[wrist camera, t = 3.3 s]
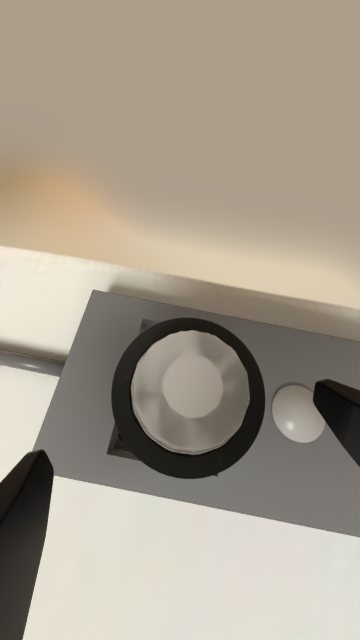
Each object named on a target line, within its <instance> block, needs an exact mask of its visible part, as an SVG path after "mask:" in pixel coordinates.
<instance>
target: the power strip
mask: <svg viewBox="0 0 360 640" xmlns="http://www.w3.org/2000/svg"><path fill="white" fill-rule="evenodd" d="M175 318H198V319H204V320H207V321H211V322H213V323H216V324H218V325H220V326H222V327H224V328H226V329H227V330H229V331H230V332H232V333H233V334H234V335H236V336H237V337H238V338H239V339H240V340H241V341H242V342H243V343H244V344H245V345H246V347H247V348H248V349H249V351H250V352H251V353H252V355H253V357H254V358H255V360H256V362H257V364H258V366H259V369H260V372H261V374H262V378H263V382H264V388H265V412H264V418H263V422H262V425H261V428H260V431H259V433H258V435H257V437H256V439H255V441H254V443H253V444H252V446H251V447H250V449H249V450H248V451H247V452H246V454H245V455H244V456H243V457H242V458H241V459H240V460H239V461H238V462H236V463H235V464H234V465H232V466H231V467H230V468H228V469H226V470H224V471H223V472H220V473H218V474H216V475H213V476H209V477H206V478H199V479H180V478H174V477H170V476H167V475H164V474H161V473H159V472H157V471H155V470H153V469H151V468H150V467H148V466H147V465H145V464H144V463H143V462H141V461H140V460H139V459H138V458H137V457H136V456H135V455H134V454H133V453H132V452H130V451H125V450H120V449H116V448H115V446H116V442H117V438H118V434H119V431H118V429H117V426H116V423H115V420H114V417H113V411H112V403H111V389H112V382H113V377H114V373H115V370H116V368H117V365H118V363H119V361H120V358H121V357H122V355H123V353H124V352H125V350H126V349H127V347H128V346H129V345H130V344H131V343H132V342H133V340H134V339H135V338H136V337H138V336H139V335H140V334H141V333H142V332H144V331H145V330H147V329H148V328H150V327H152V326H153V325H156V324H158V323H160V322H163V321H166V320H170V319H175ZM0 365H3V366H8V367H13V368H18V369H23V370H28V371H33V372H38V373H43V374H48V375H53V376H58V377H60V379H59V381H58V384H57V387H56V389H55V392H54V395H53V397H52V400H51V403H50V405H49V408H48V411H47V413H46V416H45V419H44V421H43V424H42V427H41V429H40V432H39V435H38V437H37V440H36V443H35V445H34V448H33V451H36V450H40V449H43V450H45V452H46V453H47V455H48V457H49V459H50V461H51V463H52V465H53V469H54V475H55V476H60V477H65V478H69V479H74V480H79V481H84V482H89V483H94V484H99V485H104V486H109V487H114V488H119V489H124V490H129V491H134V492H139V493H144V494H148V495H153V496H158V497H163V498H168V499H173V500H178V501H183V502H188V503H193V504H198V505H203V506H208V507H213V508H218V509H223V510H227V511H232V512H237V513H242V514H247V515H252V516H257V517H262V518H267V519H272V520H277V521H282V522H287V523H292V524H297V525H302V526H306V527H311V528H316V529H321V530H326V531H331V532H336V533H341V534H346V535H351V536H356V537H360V467H359V466H358V465H357V464H356V462H355V461H354V460H353V459H352V458H351V456H350V455H349V454H348V453H347V451H346V450H345V449H344V447H343V446H342V445H341V443H340V442H339V441H338V439H337V438H336V436H335V435H334V433H333V432H332V430H331V429H330V428H329V426H328V425H327V423H326V422H325V420H324V419H323V417H322V416H321V414H320V413H319V411H318V410H317V409H316V407H315V405H314V403H313V393H314V387H315V383H316V382H317V381H319V380H323V379H330V380H333V381H336V382H339V383H341V384H344V385H347V386H349V387H352V388H355V389H358V390H360V342H358V341H353V340H348V339H343V338H338V337H333V336H328V335H323V334H317V333H312V332H307V331H302V330H297V329H292V328H287V327H282V326H277V325H271V324H266V323H261V322H256V321H251V320H246V319H241V318H236V317H231V316H226V315H220V314H215V313H210V312H205V311H200V310H195V309H190V308H185V307H180V306H174V305H169V304H164V303H159V302H154V301H149V300H144V299H139V298H134V297H129V296H123V295H118V294H113V293H108V292H103V291H98V290H93V291H92V293H91V296H90V299H89V301H88V304H87V307H86V309H85V312H84V315H83V317H82V320H81V323H80V325H79V328H78V331H77V333H76V336H75V339H74V341H73V344H72V347H71V349H70V352H69V355H68V357H67V360H66V363H65V362H60V361H55V360H50V359H45V358H40V357H35V356H30V355H25V354H20V353H15V352H10V351H5V350H0Z"/></svg>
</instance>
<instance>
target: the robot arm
mask: <svg viewBox="0 0 360 640" xmlns="http://www.w3.org/2000/svg"><path fill="white" fill-rule="evenodd" d="M313 403H314V405H315V407H316V409H317V410H318V411H319V413H320V414H321V416H322V417H323V419H324V420H325V422H326V423H327V425H328V426H329V428H330V429H331V430H332V432H333V433H334V435H335V436H336V438H337V439H338V441H339V442H340V443H341V445H342V446H343V447H344V449H345V450H346V451H347V453H348V454H349V455H350V456H351V458H352V459H353V460H354V461H355V462H356V464H357V465H358V466H359V467H360V390H358V389H355V388H352V387H349V386H347V385H344V384H341V383H339V382H336V381H333V380H330V379H323V380H319V381H317V382H316V383H315V387H314V393H313ZM53 477H54V469H53V465H52V463H51V461H50V459H49V457H48V455H47V453H46V452H45V450H43V449H40V450H36V451H32V452H29V453H27V454H26V455H25V456H24V457H23V458H22V459H21V460H20V461H19V463H18V464H17V465H16V466H15V467H14V468H13V469H12V470H11V471H10V473H9V474H8V475H7V476H6V477H5V478H4V479H3V480H2V481H1V482H0V640H22V639H23V635H24V631H25V626H26V622H27V617H28V613H29V608H30V604H31V600H32V595H33V591H34V586H35V582H36V577H37V573H38V569H39V564H40V560H41V555H42V551H43V546H44V541H45V537H46V530H47V523H48V516H49V508H50V500H51V493H52V485H53Z"/></svg>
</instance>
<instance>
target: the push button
mask: <svg viewBox="0 0 360 640" xmlns="http://www.w3.org/2000/svg"><path fill="white" fill-rule="evenodd" d="M111 403H112V411H113V417H114V420H115V423H116V426H117V429H118V431H119V433H120V435H121V437H122V439H123V441H124V442H125V444H126V445H127V447H128V448H129V449H130V451H131V452H132V453H133V454H134V455H135V456H136V457H137V458H138V459H139V460H140V461H141V462H143V463H144V464H145V465H147V466H148V467H150V468H151V469H153V470H155V471H157V472H159V473H161V474H164V475H167V476H170V477H174V478H180V479H199V478H206V477H209V476H213V475H216V474H218V473H220V472H223V471H224V470H226V469H228V468H230V467H231V466H232V465H234V464H235V463H236V462H238V461H239V460H240V459H241V458H242V457H243V456H244V455H245V454H246V452H247V451H248V450H249V449H250V447H251V446H252V444H253V443H254V441H255V439H256V437H257V435H258V433H259V431H260V428H261V425H262V422H263V418H264V412H265V388H264V382H263V378H262V374H261V372H260V369H259V366H258V364H257V362H256V360H255V358H254V357H253V355H252V353H251V352H250V351H249V349H248V348H247V347H246V345H245V344H244V343H243V342H242V341H241V340H240V339H239V338H238V337H237V336H236V335H234V334H233V333H232V332H230V331H229V330H227V329H226V328H224V327H222V326H220V325H218V324H216V323H213V322H211V321H207V320H204V319H198V318H175V319H170V320H166V321H163V322H160V323H158V324H156V325H153V326H152V327H150V328H148V329H147V330H145V331H144V332H142V333H141V334H140V335H139V336H138V337H136V338H135V339H134V340H133V342H132V343H131V344H130V345H129V346H128V347H127V349H126V350H125V352H124V353H123V355H122V357H121V358H120V361H119V363H118V365H117V368H116V370H115V373H114V377H113V382H112V389H111Z"/></svg>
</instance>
